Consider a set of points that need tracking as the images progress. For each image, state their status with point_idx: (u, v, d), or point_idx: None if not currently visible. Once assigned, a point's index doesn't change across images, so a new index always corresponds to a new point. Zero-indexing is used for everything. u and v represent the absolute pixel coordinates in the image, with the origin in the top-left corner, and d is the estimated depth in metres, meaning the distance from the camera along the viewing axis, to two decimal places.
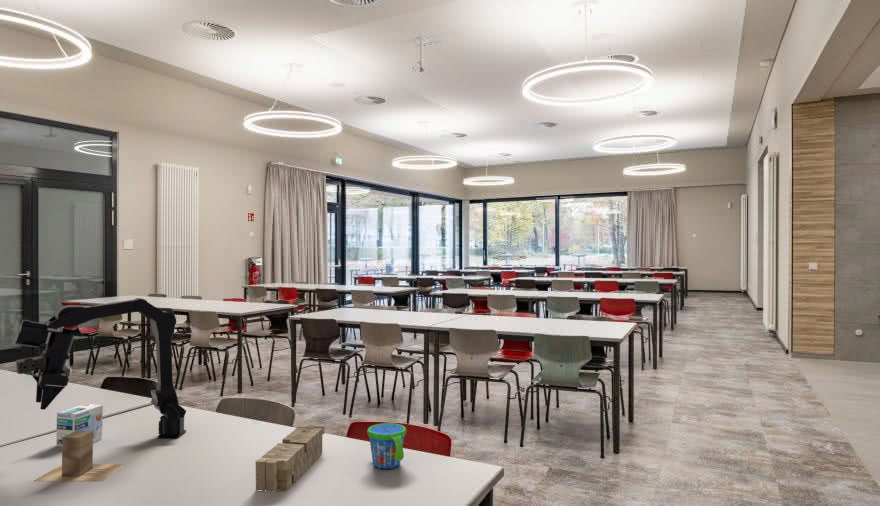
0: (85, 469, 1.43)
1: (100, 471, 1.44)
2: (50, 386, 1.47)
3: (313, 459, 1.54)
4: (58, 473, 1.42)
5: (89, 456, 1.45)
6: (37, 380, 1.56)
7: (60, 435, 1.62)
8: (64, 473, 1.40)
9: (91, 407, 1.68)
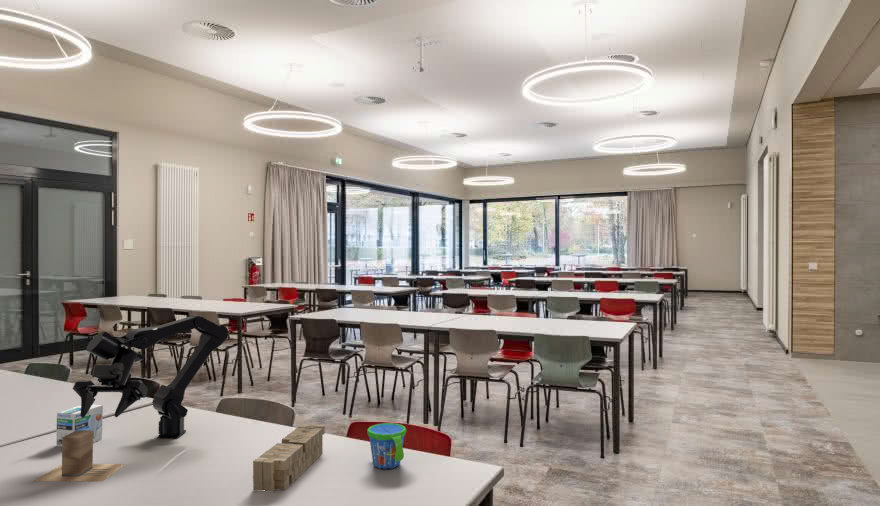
0: (85, 469, 1.43)
1: (100, 471, 1.44)
2: (136, 393, 1.56)
3: (312, 459, 1.54)
4: (58, 473, 1.42)
5: (89, 456, 1.45)
6: (87, 394, 1.54)
7: (60, 435, 1.62)
8: (64, 473, 1.40)
9: (91, 407, 1.68)
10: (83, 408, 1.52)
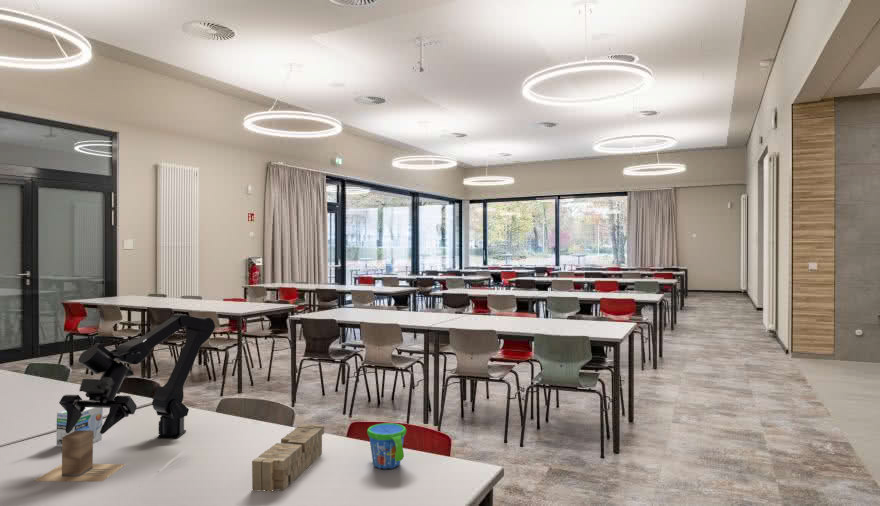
0: (85, 469, 1.43)
1: (100, 471, 1.44)
2: (124, 409, 1.50)
3: (312, 459, 1.54)
4: (58, 473, 1.42)
5: (89, 456, 1.45)
6: (73, 409, 1.49)
7: (60, 435, 1.62)
8: (64, 473, 1.40)
9: (91, 407, 1.68)
10: (68, 423, 1.47)
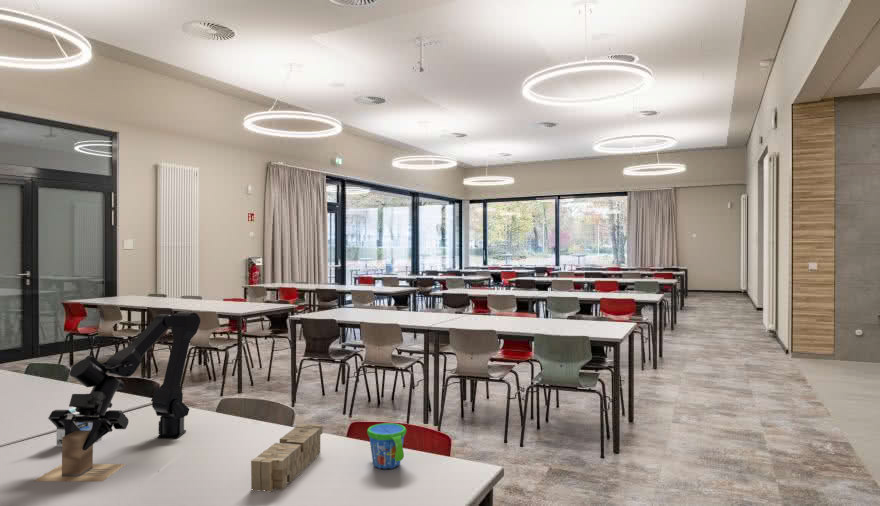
0: (85, 469, 1.43)
1: (100, 471, 1.44)
2: (107, 424, 1.46)
3: (310, 459, 1.54)
4: (58, 473, 1.42)
5: (89, 456, 1.45)
6: (71, 425, 1.45)
7: (60, 435, 1.62)
8: (64, 473, 1.40)
9: None
10: None
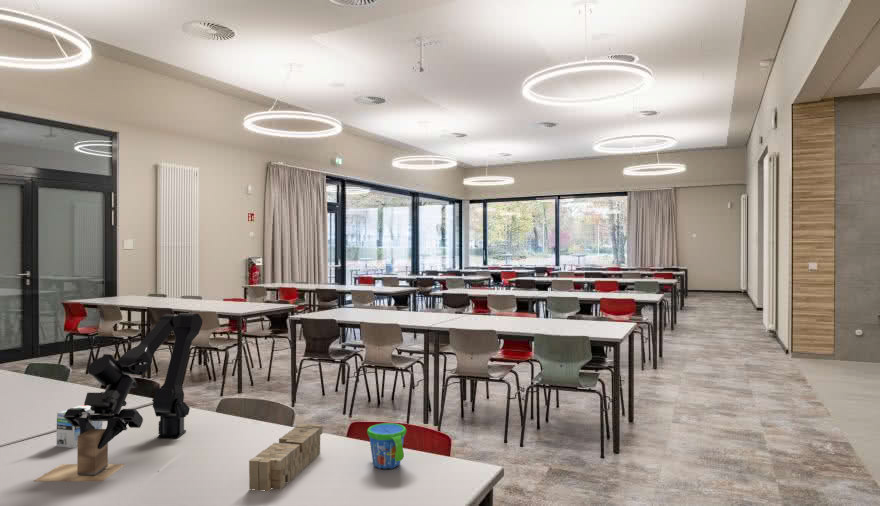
0: (100, 467, 1.43)
1: (100, 471, 1.44)
2: (122, 423, 1.46)
3: (310, 459, 1.54)
4: (58, 473, 1.42)
5: (104, 455, 1.45)
6: (86, 423, 1.45)
7: (60, 435, 1.62)
8: (80, 471, 1.41)
9: None
10: None
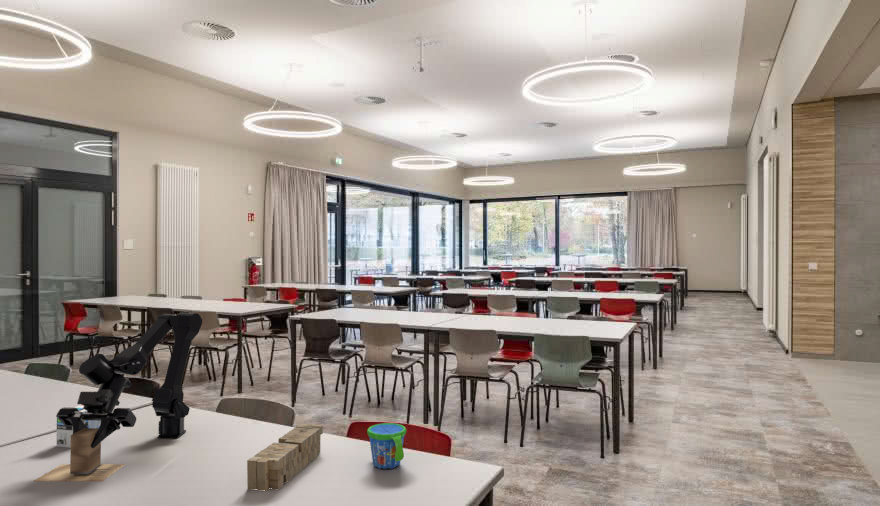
0: (93, 467, 1.43)
1: (100, 471, 1.44)
2: (115, 422, 1.46)
3: (309, 459, 1.54)
4: (58, 473, 1.42)
5: (97, 454, 1.45)
6: (79, 422, 1.45)
7: (60, 435, 1.62)
8: (72, 471, 1.40)
9: None
10: None
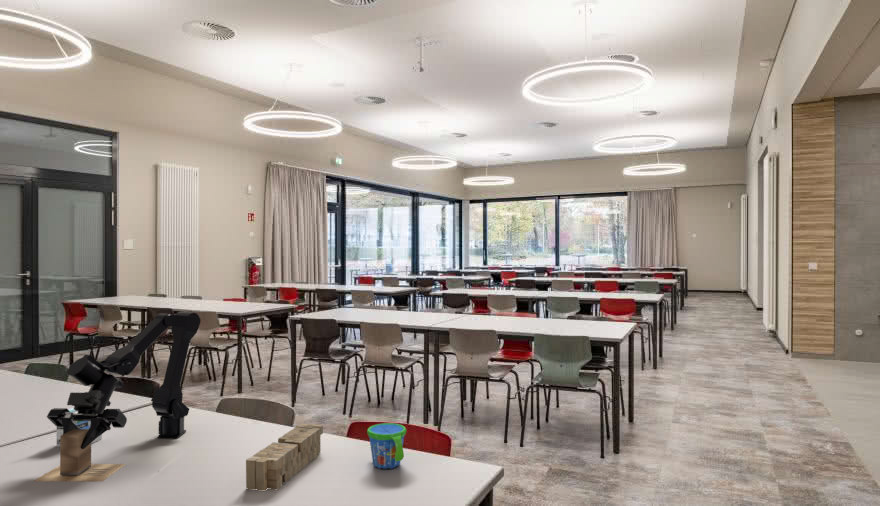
0: (83, 467, 1.43)
1: (100, 471, 1.44)
2: (105, 423, 1.46)
3: (309, 459, 1.54)
4: (58, 473, 1.42)
5: (88, 455, 1.45)
6: (69, 423, 1.45)
7: (60, 435, 1.62)
8: (62, 471, 1.41)
9: None
10: None
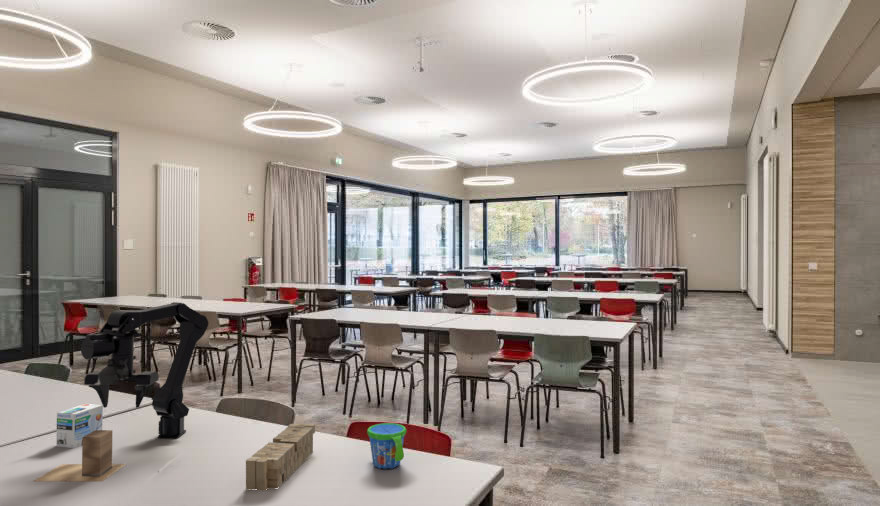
0: (105, 469, 1.43)
1: None
2: (148, 384, 1.60)
3: (303, 458, 1.54)
4: (58, 473, 1.42)
5: (109, 456, 1.45)
6: (101, 388, 1.58)
7: (60, 435, 1.62)
8: (84, 473, 1.41)
9: (91, 407, 1.68)
10: (103, 401, 1.59)
